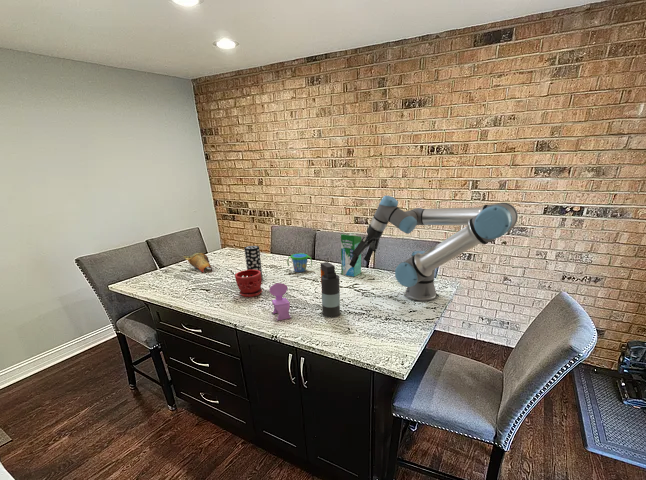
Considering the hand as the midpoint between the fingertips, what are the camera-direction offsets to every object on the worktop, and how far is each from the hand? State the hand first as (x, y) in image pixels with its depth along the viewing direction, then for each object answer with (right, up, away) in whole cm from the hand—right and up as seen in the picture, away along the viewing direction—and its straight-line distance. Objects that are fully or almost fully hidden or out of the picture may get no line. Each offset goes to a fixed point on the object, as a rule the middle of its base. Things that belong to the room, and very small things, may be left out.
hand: (358, 263), depth 173 cm
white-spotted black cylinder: (-59, -8, +27) cm, 66 cm away
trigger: (-17, -11, -18) cm, 27 cm away
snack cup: (-35, 0, +43) cm, 55 cm away
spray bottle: (-15, -25, -16) cm, 33 cm away
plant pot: (-57, -16, +7) cm, 60 cm away
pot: (-101, +1, +49) cm, 113 cm away
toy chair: (-37, -26, -19) cm, 49 cm away
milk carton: (-2, -3, +36) cm, 36 cm away
